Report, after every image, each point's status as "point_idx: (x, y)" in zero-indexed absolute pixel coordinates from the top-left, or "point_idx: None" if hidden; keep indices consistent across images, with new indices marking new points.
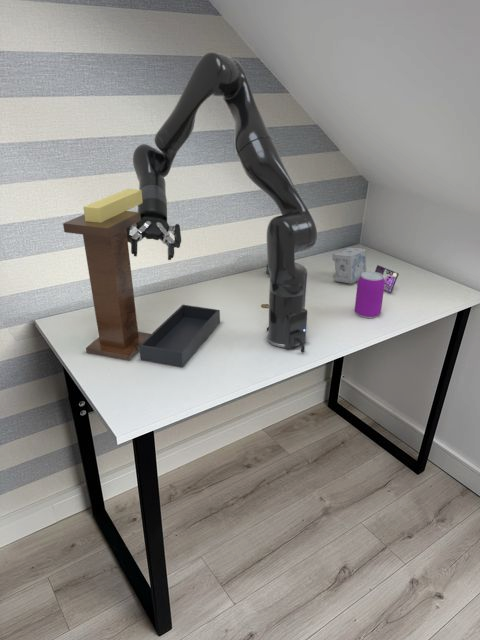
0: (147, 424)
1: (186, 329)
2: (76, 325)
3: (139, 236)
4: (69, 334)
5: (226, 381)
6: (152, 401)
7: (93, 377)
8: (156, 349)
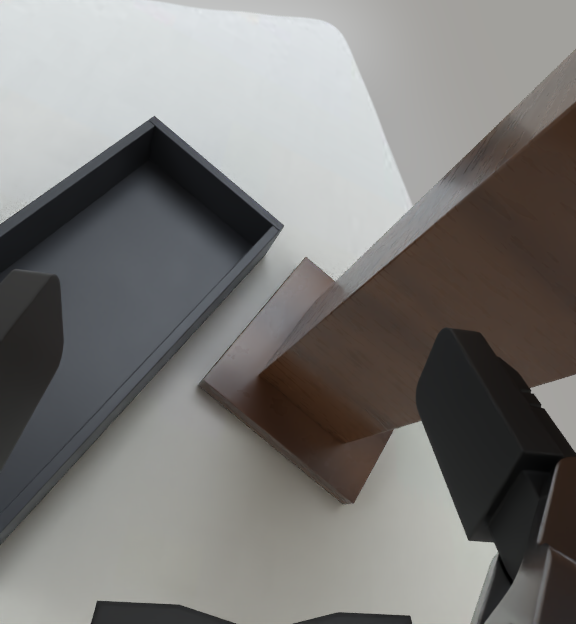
0: (287, 19)
1: None
2: None
3: (527, 549)
4: None
5: (43, 34)
6: (265, 72)
7: None
8: (230, 181)
